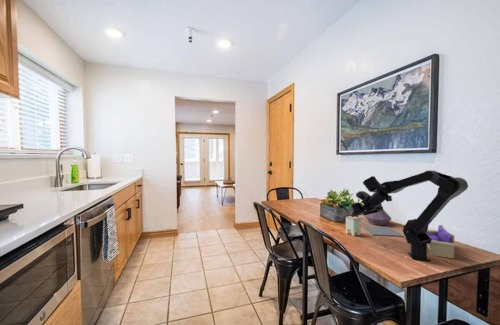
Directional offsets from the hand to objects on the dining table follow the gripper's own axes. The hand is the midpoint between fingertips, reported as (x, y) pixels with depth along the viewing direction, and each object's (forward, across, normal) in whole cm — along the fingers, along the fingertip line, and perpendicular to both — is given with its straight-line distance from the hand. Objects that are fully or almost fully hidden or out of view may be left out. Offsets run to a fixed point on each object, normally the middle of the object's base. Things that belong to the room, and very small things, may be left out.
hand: (357, 215), depth 125 cm
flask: (+16, -34, 0) cm, 37 cm away
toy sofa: (-12, -18, +29) cm, 36 cm away
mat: (+7, -19, +9) cm, 22 cm away
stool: (+10, 0, +6) cm, 12 cm away
